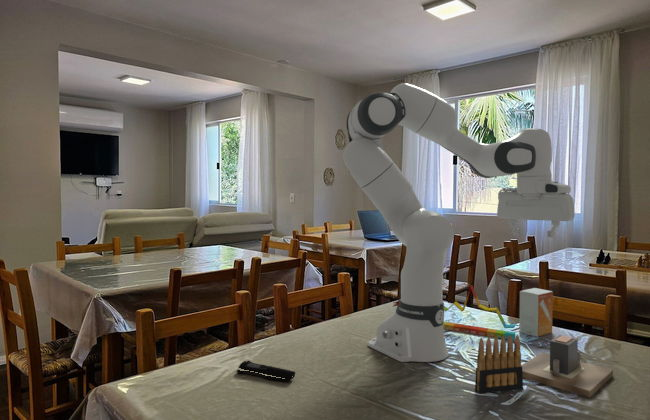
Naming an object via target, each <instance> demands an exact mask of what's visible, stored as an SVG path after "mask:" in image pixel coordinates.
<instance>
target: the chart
mask: <svg viewBox="0 0 650 420" xmlns="http://www.w3.org/2000/svg"><path fill="white" fill-rule="evenodd" d="M471 292H472V295H473V298H474V300H475V303H476V305H477V307H478V308H479V309H482V310H484V311H485V312H496V315H497V316H498V318H499V320H500V322H501V324H502V325H503V328H504V329H514V328H515V327H516V324H506V321H505V320H504V317H503V315H502V314H501V312H500V310H499V308H498V307H487V306H486V305H483V304H481V302H480V299H479V297H478V294H477V292H476V290H475V288H474V285H473V284H471V285H470V286H469V288H468V291H467V294H466V297H465V300H464V303H463V306H462V305H461V304H460V303H459V302H458V301H454V302H453V303H452V304H451V305H450V306H449V307H446V306H445V305H444V313H445V312H447V311H449V310H450V309H451V308H452V307H453V306H455V307H456V308H457V309H459V311H460V312H464V311H465V309H466V305H467V303H468V300H469V297H470V293H471ZM443 328H444V330H446V331H447V330H448V331H451V332H452V331H453V332H458V333H464V334H471V335H476V336H481V337H482V336H484V337H487V338H488V337H489V338H493V339H495V337H497V339H500V340H501V339H502V336H504V338H505V340H507V341H508V338H509V336H510V335H511V337H512V341H513V342H515V338H516V332H515V331H508V330H501V329H495V328H488V327H482V326H476V325H475V326H474V325H469V324H461V323H456V322H450V321H444V322H443Z"/></svg>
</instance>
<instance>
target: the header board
mask: <svg viewBox="0 0 650 420" xmlns="http://www.w3.org/2000/svg"><path fill="white" fill-rule="evenodd" d="M581 352H582V351H579V350H578V361H577V369H575V370H574V371H573V372H571V373H570V374H569V375H566V374H562V373H559V360H558V359H553V371H551V370H550V353H547V352H541V353H538V354H537V355H536V356H534V357H531V359H529V360H528V361H526V362H524V363H522V364H521V366H522V371H523V379H526V380H530V381H533V382H537V383H538V384H539V383H540V384H543V385H545V386H550V387H553V388H556V389H559V390H562V391H566V392H569V393H571V394H572V393H573V394H576V395H579V396H582V397H586V398H589V399H591V397H593V396H594V395H595V394H596V393H597V392H598V391H599V390H600V389H601V388H602V387H603V386H604V385H606V383H607V382H608V381H610V379H612V378H613V376H614V369H610V368H606V367H603V366H598V365H596V364H595V365H594V364H591V363H587V362H583V361H581V358H582V357H581V355H582V354H581Z"/></svg>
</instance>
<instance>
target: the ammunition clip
mask: <svg viewBox="0 0 650 420" xmlns="http://www.w3.org/2000/svg"><path fill="white" fill-rule="evenodd" d="M492 347H493V348H492ZM476 362H477V365H476V367H475V384H474V385H475V386H474V390H475V391H476V393H478V394H479V395H482V394H490V393H499V392H507V391H508V392H509V391H519V390H523V389H524V378H523V371H522V366H521V365H522V351H521V342H520V337H519V335H518V334H516V335H515V339H514V341H513V340H512V337H511V335H510V336H509V338H508V340H507V342H506V339H505V338H504V336H502V339H501V338H500V345H499V338H497V337H495V338H493V344H492V341H491V337H488V336H487V339H486V343H485V344H484V339H483V338H482V337H480V339H479V342H478V351H477V361H476Z"/></svg>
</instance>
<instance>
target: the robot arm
mask: <svg viewBox="0 0 650 420" xmlns="http://www.w3.org/2000/svg"><path fill="white" fill-rule="evenodd" d="M457 120H458V119H457V112H456V109H455V108H454V107H453V106H452V105H451V104H450V103H449V102H448V101H446V100H444V99H443V98H441V97H440V96H438V95H436V94H434V93H432V92H431V91H428V90H427V89H423V88H421V87H418V86H416V85H414V84H411V83H407V82H401V83H399V84H397V85H396V86H394V87H393V88H392V89H391V90H390V92H374V93H371V94H368V95H366V96H365V97H364V98H363V99H360V101H358V102H357V103H356V104H355V105H354V106H353V108H352V109H350V111H349V113H348V115H347V118H346V131H347V135H348V142H349V143H348V144H347V145H346V147H345V148H344V149H343V152H342V160H343V163H344V164H345V167H346V168H347V170H348V172H349V174H350V175H351V177H352V179H353V180H354V181H355V183H356V184H357V185H358V187H359V188H360V189H361V190H362V191H363V193H364V194H365V195H366V196H367V198H368V199H369V200H370V202H371V203H372V204H373V205H374V206H375V208H376V209H377V211H378V212H379V213H380V215H381V216H382V217H383V219H384V220H385V223H387V224H386V225H387V226H388V227H389V228H390V230H391V231H392V233H393V234H394V235H395V237H396V239H397V240H398V241H399V242H400V243H401V244H402V245H404V246H405V247H406V249H405V250H406V251H405V255H404V256H405V258H404V262H403V266H402V269H401V272H400V299H398V300H397V301H394V302H393V305H392V307H396V308H395V312H393V313H392V314H391V315H389V316H388V317H387V318H385V319H384V320H382V321H381V322H380V323H379V324H378V326H377V329H376V335H375V337H373V338H371V339H370V340H369V341H368V342H367V345H368V347H370V348H371V349H374V350H376V351H377V352H380V353H381V354H384V355H386V356H388V357H390V358H392V359H394V360H396V361H398V362H402V363H408V362H418V363H431V362H434V363H435V362H438V361H443V360H445V359H446V358H448V357H449V355H450V354H449V351H448V346H447V343H446V336H445V331H444V330H445V329H444V328H443V322H445V311H444V306H445V303H444V301H443V279H444V278H443V276H444V268H445V264H446V258H447V254H448V250H449V248H450V247H451V245H452V243H453V240H454V236H455V233H454V232H455V231H454V227H453V225H452V223H451V222H450V220H449V219H447V218H446V217H445V216H444V215H442V214H441V213H439V212H437V211H433V210H427V209H426V208H424V206H423V205H422V204H421V202H420V200H419V199H418V196H417V195H416V193H415V190H414V189H413V185H412V183H411V182H410V181H409V180H408V178H407V177H406V176H405V174H404V172H403V173H402V171H401V169H400V168H399V167H398V166H397V165H396V163H395V162H394V161H393V160H392V158H391V157H390V156H389V155H388V154H387V152H386V150H385V148H384V146H383V142H382V141H383V140H382V139H383V137H385V136H386V135H387V134H389V133H390V132H393V130H394V129H395V128H396V127H397V126H402V127H404V128H406V129H408V130H410V131H412V133H415V134H417V135H418V136H421V137H423V138H424V139H427V140H429V141H431V142H434V143H436V145H437V144H438V145H439V146H441V147H442V148H444V149H445V150H446V151H449V152H450V153H452V154H453V155H455V156H457V157H458V158H460V159H461V160H463V161H464V162H466V164H467V165H468V166H469V168H470V169H471V170H472V171H473V172H474V173H475V174H476V175H477V176H479V177H480V178H483V179H492V178H496V177H504V176H512V175H516V187H503V188H501V189H500V190H499V191H498V193H497V199H498V203H497V211H496V215H497V217H498V219H500V220H508V221H509V225H510V227H511V229H512V233H513V236H521V234H522V233H521V232H522V228H518V226H517V223H518V220H519V221H520V220H521V221H523V220H525V221H526V220H527V221H546V222H547V221H548V222H549V221H550V222H551V223H550V224H551V226H552V227H551V229H550V230H546V237H547V238H550V239H551V238H554V239H555V237H556V231H557V230H558V229H559V227H560V225H561V222H571V221H573V220H574V218H575V213H576V212H575V203H574V198H573V197H572V195H571V194H570V193H571V190H572V188H571V186H570V185H569V184H566V183H565V184H564V183H561V182H558V181H554V180H552V176H553V175H552V172H551V164H552V159H553V149H552V139H551V136H550V134H549V132H547V131H546V130H544V129H541V128H530V127H529V128H523V129H521V130H520V131H519V132H518V133H516V134H515V135H513V136H511V137H509V138H506V139H504V140H501V141H497V142H493V143H480V142H477V141H476V140H474V139H473V138H471V137H470V136H468V135H466V134H465V133H463V132H462V131H460V130H459V129H458V128H457V125H456V124H457Z"/></svg>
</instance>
